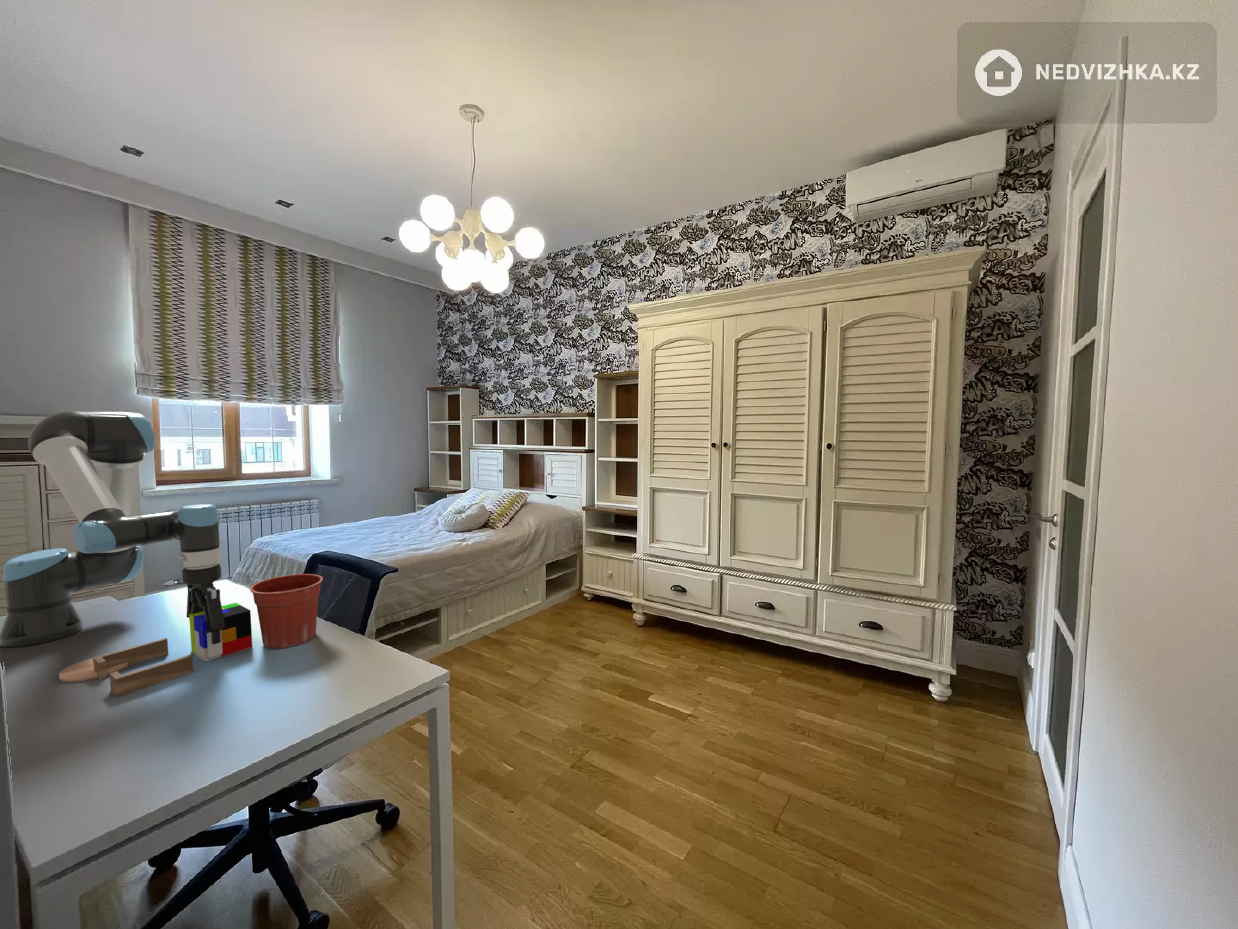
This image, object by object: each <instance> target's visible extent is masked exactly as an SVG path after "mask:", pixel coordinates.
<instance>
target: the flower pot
mask: <svg viewBox="0 0 1238 929" xmlns="http://www.w3.org/2000/svg"><path fill="white" fill-rule="evenodd" d="M323 581H324V580H323V576H321V575H318V574H314V573H313V574H311V573H298V574H296V573H295V574H288V575H287V574H286V575H281V576H275V577H271V578H268V579H264V580H262V581H261V580H260V581H258V582H256V583H254V584H253V585H251V586H250V588H249V591H250V592H251V593H252V596H253V601H254V602H253V603H254V604H255V605H256V610H257V616H258V622H259V626H260V627H259V628H260V629H259V630H260V634H261V640H262V641H261V642H262V645H263V646H264V648H268V649H273V650H278V649H279V650H280V649H287V648H289V647H290V646H300V645H303V644H305V643H307V642H310V641H311V640H313V639H314V638H315V636H316V634H317V622H318V607H319V595H320V593H321V583H322V582H323Z"/></svg>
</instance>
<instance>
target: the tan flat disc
mask: <svg viewBox="0 0 1238 929" xmlns="http://www.w3.org/2000/svg"><path fill="white" fill-rule="evenodd" d="M93 658H94V657H92V658H88V659H85V660H82V661H79V662H76V663H73V664H72V665H71V664H70V665H69V666H67V667H65V668H64V669H62V670H61V671H59V673H58V679H59V681H60V682H63V683H76V682H77V683H78V682H85V681H90V680H94V679H99V678H98V674H97V673H96V672H95V671H94V665H93ZM126 667H129V666H128V662H126V663H122V664H119V665H116V666H112V667H109V668H106V671H107V676H110V673H113V672H117V671H118V672H119V671H121V670H124V669H125V668H126Z"/></svg>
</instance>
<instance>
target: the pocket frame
mask: <svg viewBox="0 0 1238 929" xmlns="http://www.w3.org/2000/svg"><path fill="white" fill-rule="evenodd" d="M168 642H169V641H168V638H167V637H164V638H160V639H156V640H152V641H150V642H145V643H143V644H138V645H134V646H132V647H131V646H130V647H128V648H124V649H121V650H116V651H112V652H109V653H105V654H102V655H98V656H95V657H92V658H93V665H94V671H95V672H96V673H97V674H98V678H97V679H98V680H103V679H105V678H108V675H107V671H106V668H109V667H112V666H116V665H119V664H122V663H126V662H128V666H127V667H130V666H131V665H133V666H134V665H136V664H138V663H143V662H147V661H149V660H153V659H156V658H160V657H163V656H165V655H166V656H167V655H169V644H168ZM193 657H194V656H193V655H192V654H188V655H185V656H181V657H179V658H174V659H172V660H168V661H165V662H161V663H158V664H155V665H152V666H149V667H145V668H142V669H139V670H136V671H132V672H128V673H125V674H121V673H120V672H119V671H117V672H113V673H110V674H109V684H110V692H111V693H113V695H115V697H116V698H119V697H122V696H124V695H128V694H130V693H134V692H137V691H140V690H143V689H146V688H149V687H152V686H155V685H158V684H161V683H164V682H167V681H170V680H173V679H176V678H179V677H182V676H186V675H189V674H191V673H194V672H195V671H194V658H193Z"/></svg>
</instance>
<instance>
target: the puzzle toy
mask: <svg viewBox="0 0 1238 929" xmlns="http://www.w3.org/2000/svg"><path fill="white" fill-rule="evenodd" d="M221 606H222V612H223V617H224V623H225V628H223V629H221V634H222V650H223V654H220V655H217V656H213V657H210V658H209V657H208V645H207V633H205V631H206V630H208V627H207V622H206V619H205V615H204V612H203V611H202V612H198V613H194V614H192V613H191V614H189V618H188V619H190V621H189V630H190V631H189V632H190V647H191V653H193V654H194V655H195V656H197V657H198V658H199V659H201V660H202V661H204V663H206V662H209V661H212V660H215V659H219V658H222V657H225V656H228V655H231V654H235V653H238V652H241V651H244V650H247V649H250V648H253V634H252V633H253V632H252V631H253V630H252V617H251V616H252V614H251V610H250V609H249V608H247V607H244V606H243V605H241V604H240V603H237V602H233V603H229V604H226V605H225V604H224V605H221ZM215 626H216V625H215Z"/></svg>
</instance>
